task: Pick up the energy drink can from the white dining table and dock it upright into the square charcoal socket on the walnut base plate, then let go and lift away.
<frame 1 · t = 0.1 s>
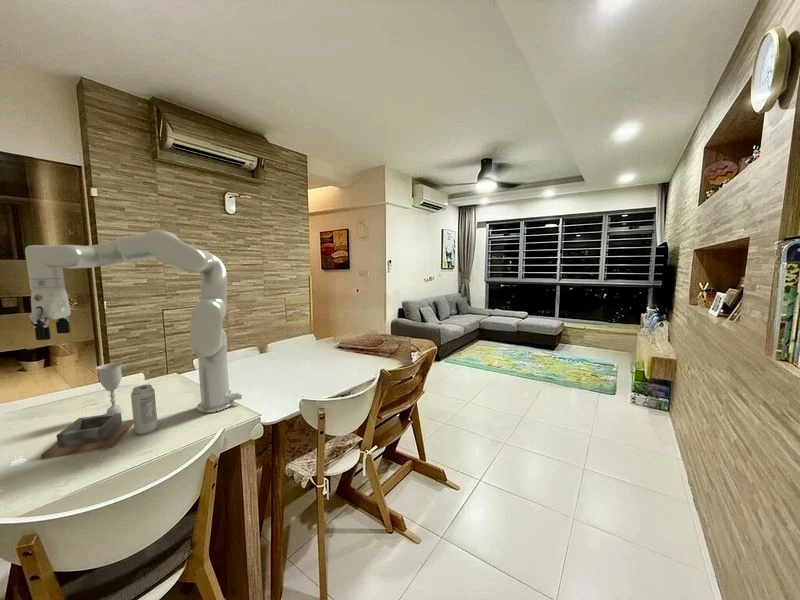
hand: (54, 336, 104), 31 cm above the table, fingers open, 9 cm apart
energy drink can: (146, 431, 105), on the table
chalice: (114, 413, 117), on the table
socket block: (92, 438, 100), on the table
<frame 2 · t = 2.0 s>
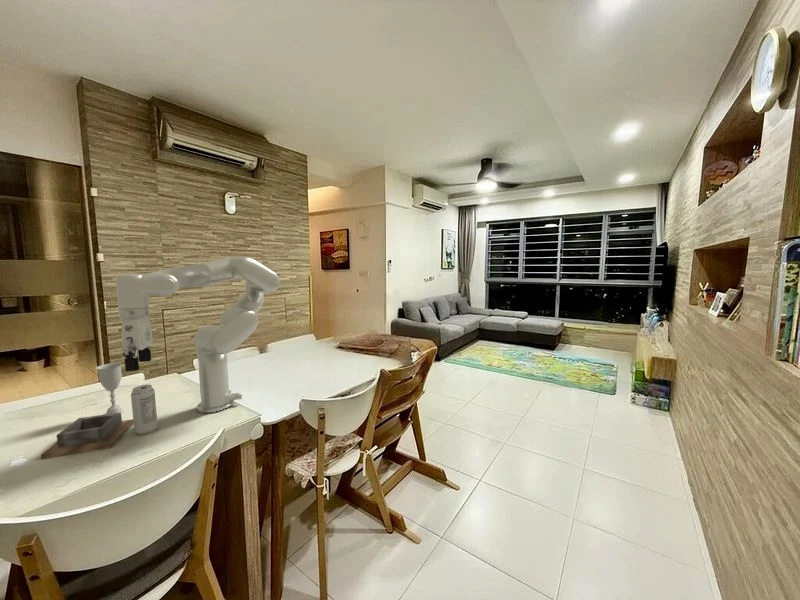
hand: (139, 365, 102), 22 cm above the table, fingers open, 9 cm apart
nothing on the table moved.
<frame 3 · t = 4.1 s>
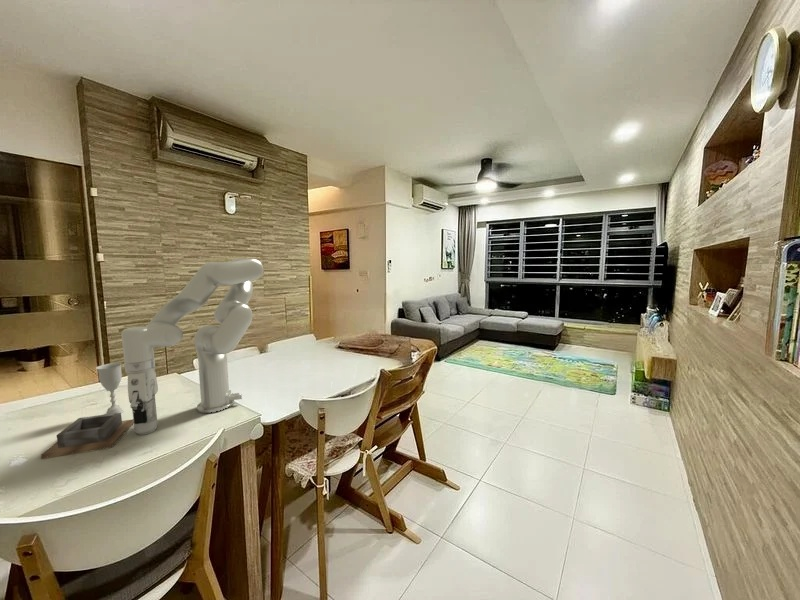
hand: (145, 417, 105), 5 cm above the table, fingers closed on energy drink can, 6 cm apart
energy drink can: (146, 431, 105), on the table, touching gripper
everything else where it was.
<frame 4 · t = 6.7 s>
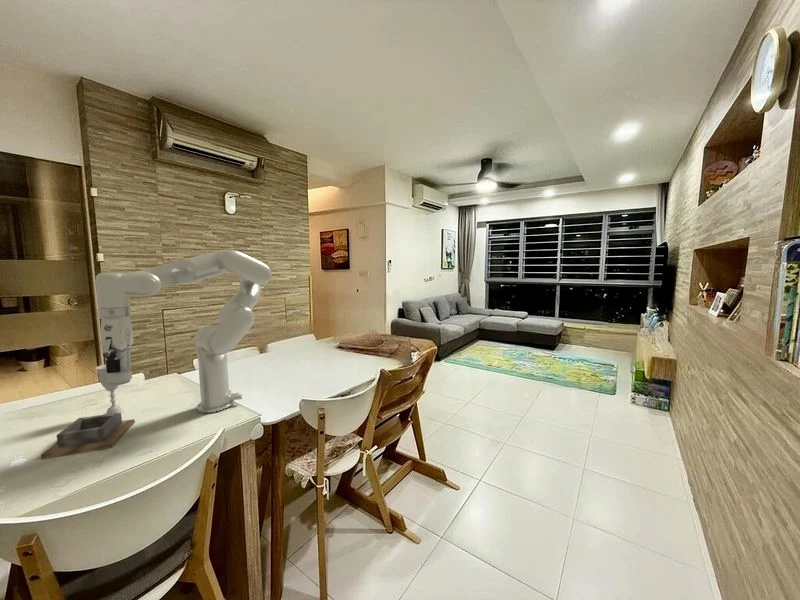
hand: (118, 368, 100), 22 cm above the table, fingers closed on energy drink can, 6 cm apart
energy drink can: (119, 383, 101), point 17 cm above the table, touching gripper
everything else where it was.
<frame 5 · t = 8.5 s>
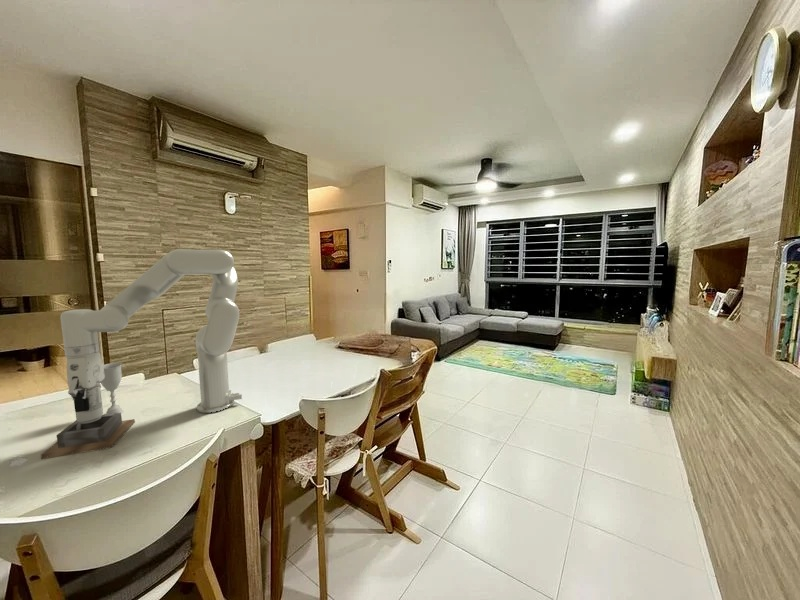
hand: (88, 405, 99), 11 cm above the table, fingers closed on energy drink can, 6 cm apart
energy drink can: (90, 420, 100), point 6 cm above the table, touching gripper
everything else where it was.
when the fingers open (7 cm above the table, at t = 9.7 s): energy drink can drops 1 cm, resting on socket block.
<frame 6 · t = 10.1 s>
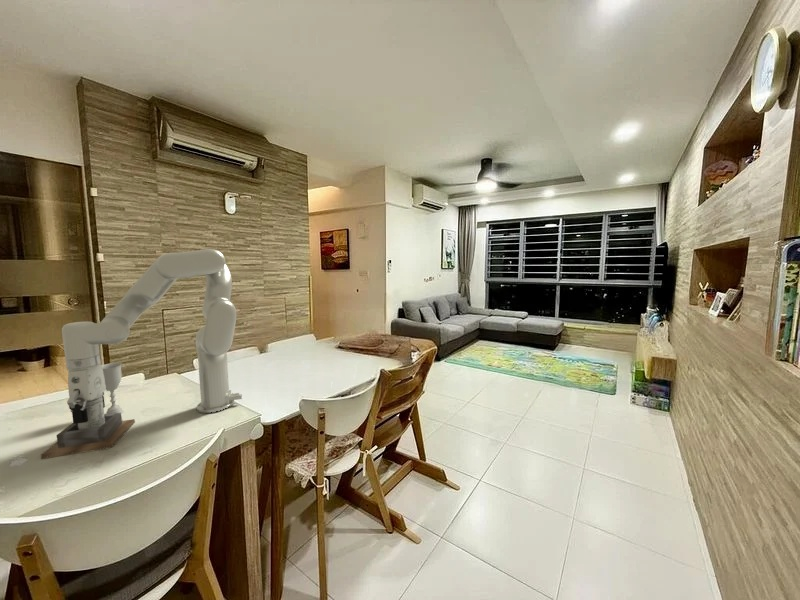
hand: (90, 415, 99), 8 cm above the table, fingers open, 9 cm apart
energy drink can: (93, 435, 100), point 1 cm above the table, touching socket block
everything else where it was.
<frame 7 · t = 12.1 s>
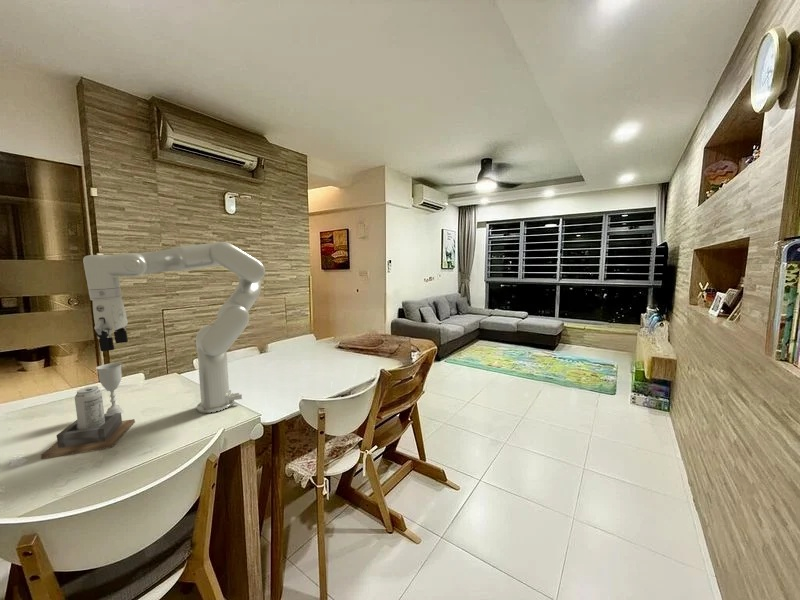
hand: (115, 346, 103), 28 cm above the table, fingers open, 9 cm apart
nothing on the table moved.
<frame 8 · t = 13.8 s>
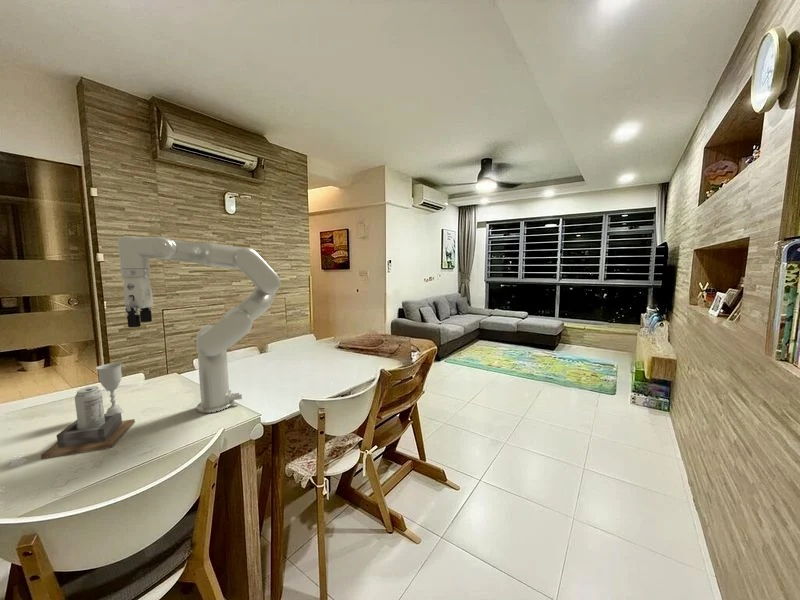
hand: (140, 324, 109), 34 cm above the table, fingers open, 9 cm apart
nothing on the table moved.
at the end: energy drink can 0.2 cm off-centre on the socket block, point 1.0 cm above the socket block's base; energy drink can tilted 0° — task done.
